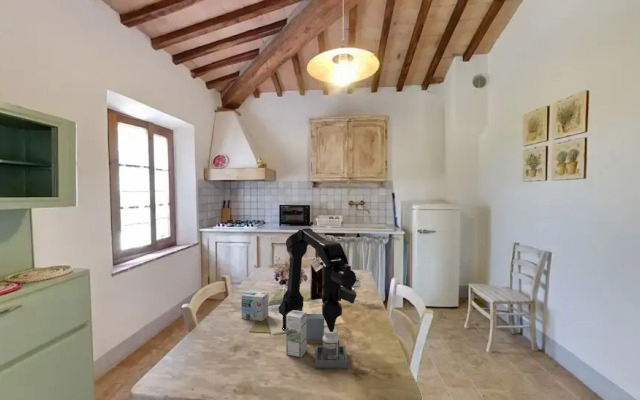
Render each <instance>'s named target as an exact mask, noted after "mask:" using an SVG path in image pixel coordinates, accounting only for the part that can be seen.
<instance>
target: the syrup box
mask: <svg viewBox="0 0 640 400" xmlns="http://www.w3.org/2000/svg"><path fill="white" fill-rule="evenodd" d="M306 314H307V312H306V311H303V310H302V311H296V310H292V311H290V312H289V313H288V314H287V315H286V330H285V333H286V336H285V338H286V341H285V342H286V350H285V352H286V353H285V354H286V356H289V357H296V358H302V357H303V356H304V354H305V353H306V352H307V350H308V349H307V348H308V347H307V343H306V319H307V317H306Z"/></svg>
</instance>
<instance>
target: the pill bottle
mask: <svg viewBox="0 0 640 400" xmlns="http://www.w3.org/2000/svg"><path fill="white" fill-rule="evenodd" d="M322 346H323V359H324V360H338V359H339V346H340V336H339V335H338V329H337V328H336V327H334V331H333V332H330V331H329V328H328V327H324V336H323V343H322Z"/></svg>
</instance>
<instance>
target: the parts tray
mask: <svg viewBox="0 0 640 400" xmlns="http://www.w3.org/2000/svg"><path fill="white" fill-rule="evenodd" d="M314 347H315V349H314V350H315V353H314V354H315V355H314V357H315V358H314V369H315V370H343V369H344V370H348V367H349V366H348V365H349V361H348V355H347V348H346V345H339V359H338V360H324V359H323V345H315V346H314Z"/></svg>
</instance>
